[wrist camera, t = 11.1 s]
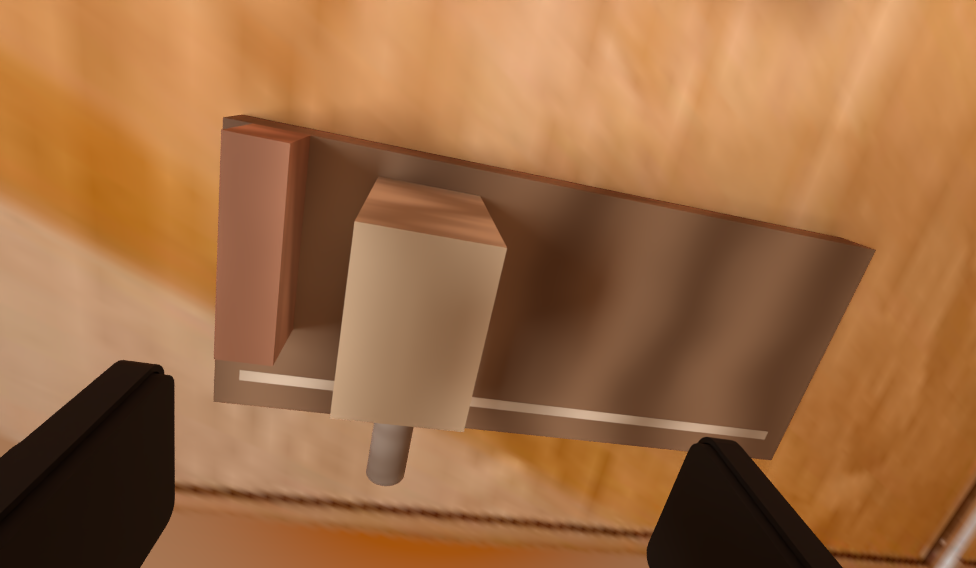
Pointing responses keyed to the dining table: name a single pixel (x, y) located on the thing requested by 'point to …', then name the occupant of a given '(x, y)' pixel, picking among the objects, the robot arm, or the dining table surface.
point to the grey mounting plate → (533, 296)
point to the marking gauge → (414, 316)
